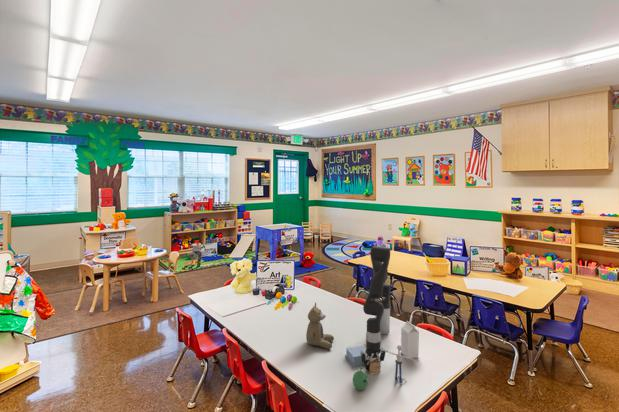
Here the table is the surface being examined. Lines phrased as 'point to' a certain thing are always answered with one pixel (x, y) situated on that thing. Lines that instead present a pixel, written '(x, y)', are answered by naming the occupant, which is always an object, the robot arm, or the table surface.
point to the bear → (317, 330)
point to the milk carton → (409, 340)
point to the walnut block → (374, 366)
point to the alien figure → (399, 364)
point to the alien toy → (360, 379)
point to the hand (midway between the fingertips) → (372, 369)
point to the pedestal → (355, 355)
